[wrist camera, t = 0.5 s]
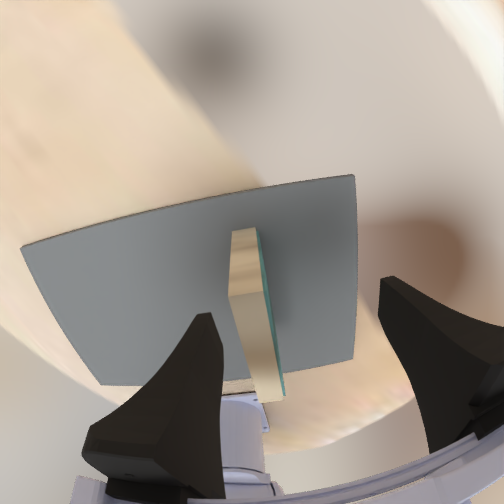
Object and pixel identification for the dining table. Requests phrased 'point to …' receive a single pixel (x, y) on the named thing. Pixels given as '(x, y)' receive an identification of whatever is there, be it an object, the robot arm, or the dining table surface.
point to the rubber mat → (206, 278)
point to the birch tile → (255, 314)
